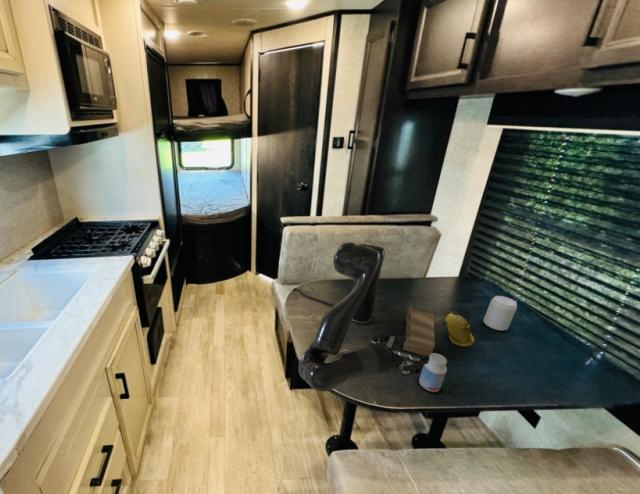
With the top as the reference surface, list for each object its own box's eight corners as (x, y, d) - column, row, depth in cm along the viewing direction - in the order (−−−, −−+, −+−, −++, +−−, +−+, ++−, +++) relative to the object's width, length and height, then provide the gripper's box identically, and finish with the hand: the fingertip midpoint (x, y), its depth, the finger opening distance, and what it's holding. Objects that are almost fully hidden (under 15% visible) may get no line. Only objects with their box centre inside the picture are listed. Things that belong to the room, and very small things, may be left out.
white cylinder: (485, 328, 126) (495, 303, 121) (481, 317, 133) (490, 293, 128) (509, 334, 123) (521, 308, 118) (504, 322, 130) (514, 298, 125)
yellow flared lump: (451, 353, 114) (463, 319, 108) (434, 338, 121) (444, 306, 115) (477, 348, 116) (491, 315, 110) (459, 334, 123) (471, 302, 117)
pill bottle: (431, 395, 97) (440, 368, 92) (414, 381, 102) (422, 354, 98) (444, 388, 99) (454, 362, 95) (427, 375, 104) (435, 349, 100)
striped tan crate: (430, 357, 112) (436, 340, 108) (402, 349, 116) (407, 332, 112) (429, 326, 128) (434, 310, 124) (405, 320, 132) (409, 304, 128)
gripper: (390, 367, 78) (440, 354, 83) (355, 332, 91) (400, 323, 95) (384, 389, 82) (433, 375, 86) (351, 352, 94) (395, 342, 98)
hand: (416, 348), depth 91 cm, fingers open, 8 cm apart
